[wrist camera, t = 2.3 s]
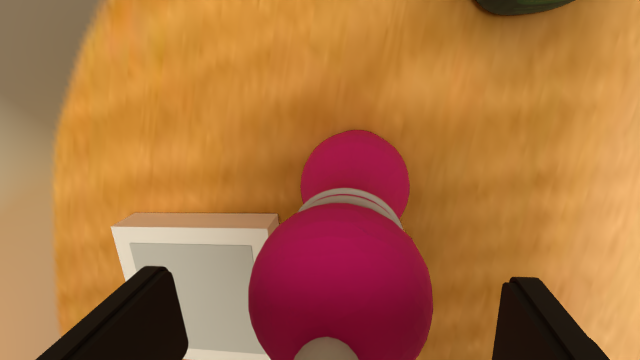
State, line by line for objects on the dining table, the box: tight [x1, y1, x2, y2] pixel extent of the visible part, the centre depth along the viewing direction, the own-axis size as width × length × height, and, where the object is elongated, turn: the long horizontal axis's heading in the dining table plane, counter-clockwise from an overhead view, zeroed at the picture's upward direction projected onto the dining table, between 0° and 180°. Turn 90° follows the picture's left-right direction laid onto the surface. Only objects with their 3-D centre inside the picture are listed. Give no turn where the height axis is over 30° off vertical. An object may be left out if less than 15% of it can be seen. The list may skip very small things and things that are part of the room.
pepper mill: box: [248, 130, 433, 360], centre depth 16 cm, size 7×7×20 cm
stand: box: [111, 213, 279, 360], centre depth 30 cm, size 14×14×3 cm
